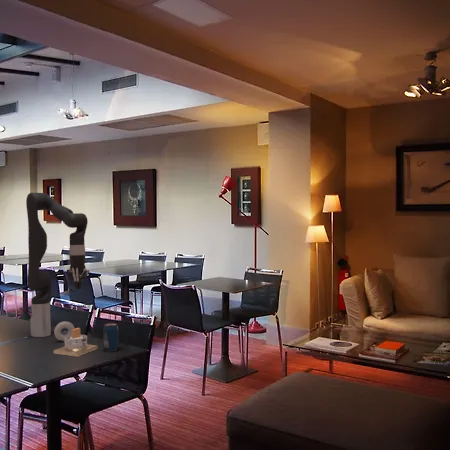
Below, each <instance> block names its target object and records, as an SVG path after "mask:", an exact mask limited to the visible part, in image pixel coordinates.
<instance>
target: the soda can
mask: <svg viewBox="0 0 450 450" xmlns="http://www.w3.org/2000/svg"><path fill="white" fill-rule="evenodd" d="M103 325H104V326H103V328H102V332H103V333H102V336H103V337H102V338H103V339H102V340H103V345H102V346H103V349H104V351H106V352H114V351H115V352H116V351H117V350H118V348H119V347H120V346H119V343H120V342H119V341H120V340H119V327H118V324H117V323H115V322H109V323H105V324H103Z"/></svg>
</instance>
